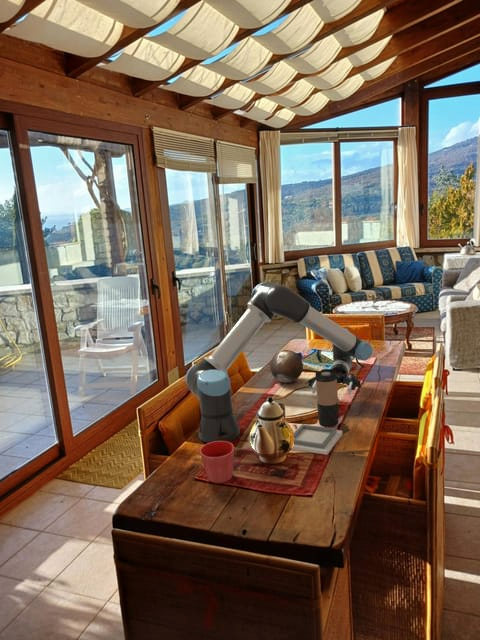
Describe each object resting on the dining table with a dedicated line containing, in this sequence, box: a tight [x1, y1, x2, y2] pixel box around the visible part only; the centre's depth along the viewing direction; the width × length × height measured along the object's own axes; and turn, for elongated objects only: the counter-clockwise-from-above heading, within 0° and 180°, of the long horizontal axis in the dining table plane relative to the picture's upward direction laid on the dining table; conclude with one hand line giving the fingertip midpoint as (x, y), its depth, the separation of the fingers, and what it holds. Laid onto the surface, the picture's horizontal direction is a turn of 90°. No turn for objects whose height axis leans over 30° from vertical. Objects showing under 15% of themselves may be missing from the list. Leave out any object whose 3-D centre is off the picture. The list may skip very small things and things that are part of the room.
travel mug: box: [315, 368, 339, 428], centre depth 190 cm, size 8×8×20 cm
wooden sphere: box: [269, 349, 304, 384], centre depth 238 cm, size 15×15×15 cm
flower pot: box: [199, 441, 235, 484], centre depth 161 cm, size 11×11×10 cm
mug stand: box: [292, 424, 343, 456], centre depth 179 cm, size 16×16×2 cm
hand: (331, 390), depth 194 cm, fingers open, 13 cm apart
